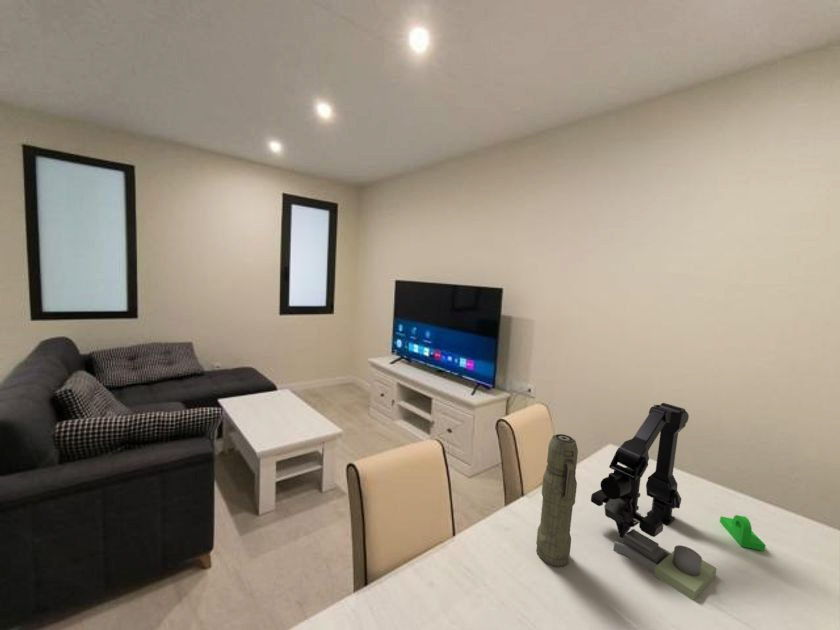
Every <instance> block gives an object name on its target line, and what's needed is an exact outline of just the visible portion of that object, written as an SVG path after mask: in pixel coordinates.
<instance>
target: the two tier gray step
mask: <svg viewBox="0 0 840 630" xmlns="http://www.w3.org/2000/svg"><path fill="white" fill-rule="evenodd" d="M622 544H624V545H626V546H628V547H630V548H632V549H633V550H635V551H636V552H638V553H640V554H641V555H643V556H644V557H646V558H648V559H649V560H651V561H652V562H654V563H656V564H657V565H658V564H659V563H660V562H661V561H662V560H664V554H665V550H666V549H665V550H663V549H664V548H663V549H661V548H660V547H661V546H660V545H659V543H658V542H656V541H655V540H653V539H651V538H649V537H648V536H646V535H644V534H642V533H641V532H639V531H637V530H636V529H635V530H634V528H632V530H631V529H630V530H629V531H628V532H627V533H626V535H625V536H624V537H623V538H622ZM658 546H660V547H658Z"/></svg>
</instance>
